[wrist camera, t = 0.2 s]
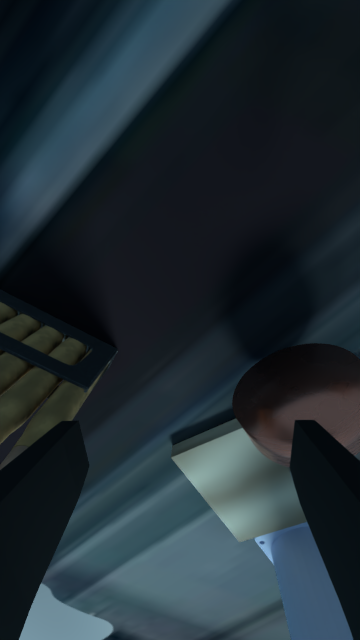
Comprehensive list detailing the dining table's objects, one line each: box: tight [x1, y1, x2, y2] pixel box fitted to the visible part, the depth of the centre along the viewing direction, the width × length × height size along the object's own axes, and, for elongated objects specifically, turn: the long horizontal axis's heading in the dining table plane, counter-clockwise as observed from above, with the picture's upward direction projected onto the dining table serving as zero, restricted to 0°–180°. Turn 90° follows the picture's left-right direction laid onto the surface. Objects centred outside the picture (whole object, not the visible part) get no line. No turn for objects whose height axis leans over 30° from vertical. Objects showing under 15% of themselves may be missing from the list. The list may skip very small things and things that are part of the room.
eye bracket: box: [171, 418, 360, 542], centre depth 18 cm, size 12×22×6 cm, turn 122°
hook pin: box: [232, 343, 360, 467], centre depth 15 cm, size 12×7×7 cm, turn 32°
